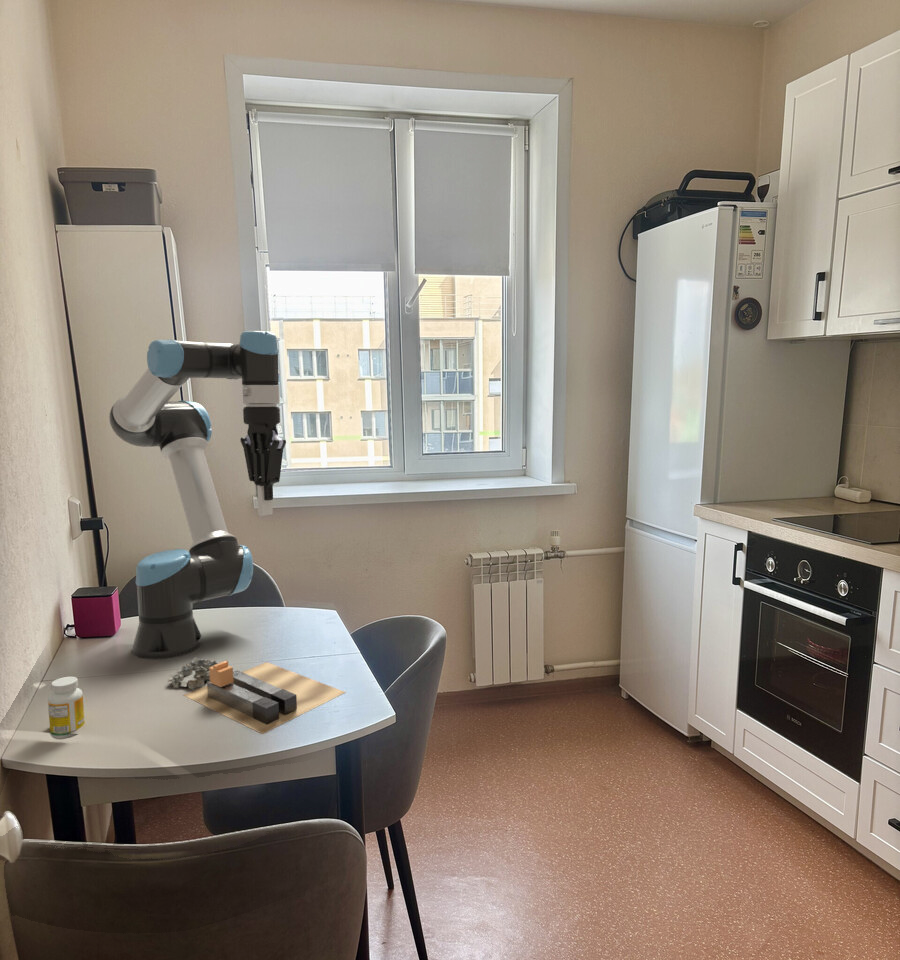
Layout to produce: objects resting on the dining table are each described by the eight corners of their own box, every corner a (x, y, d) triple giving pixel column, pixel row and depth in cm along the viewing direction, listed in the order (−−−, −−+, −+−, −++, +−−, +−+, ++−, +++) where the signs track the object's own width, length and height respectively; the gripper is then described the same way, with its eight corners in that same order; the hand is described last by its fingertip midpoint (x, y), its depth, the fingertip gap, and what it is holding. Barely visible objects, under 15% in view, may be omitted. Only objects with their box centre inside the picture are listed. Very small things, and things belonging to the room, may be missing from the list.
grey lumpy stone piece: (197, 697, 129) (196, 678, 129) (164, 694, 131) (163, 674, 131) (227, 675, 140) (226, 657, 139) (196, 671, 141) (195, 654, 141)
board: (183, 700, 127) (183, 695, 127) (266, 667, 143) (266, 662, 143) (262, 740, 112) (262, 733, 112) (346, 697, 128) (345, 692, 128)
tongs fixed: (198, 692, 128) (196, 671, 128) (219, 683, 132) (218, 663, 132) (266, 724, 115) (265, 701, 115) (288, 714, 119) (287, 691, 119)
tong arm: (226, 688, 130) (226, 674, 129) (238, 683, 132) (237, 669, 132) (285, 715, 119) (284, 700, 118) (296, 709, 121) (296, 694, 120)
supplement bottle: (56, 743, 112) (52, 690, 111) (45, 733, 115) (41, 681, 114) (90, 731, 116) (86, 680, 115) (78, 721, 119) (74, 672, 118)
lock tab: (209, 682, 125) (208, 663, 125) (222, 677, 127) (221, 659, 127) (220, 687, 123) (219, 668, 123) (233, 682, 125) (232, 663, 125)
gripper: (228, 405, 138) (232, 513, 141) (265, 406, 130) (269, 520, 133) (257, 405, 144) (261, 509, 147) (295, 405, 136) (298, 515, 139)
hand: (265, 514), depth 140 cm, fingers closed
